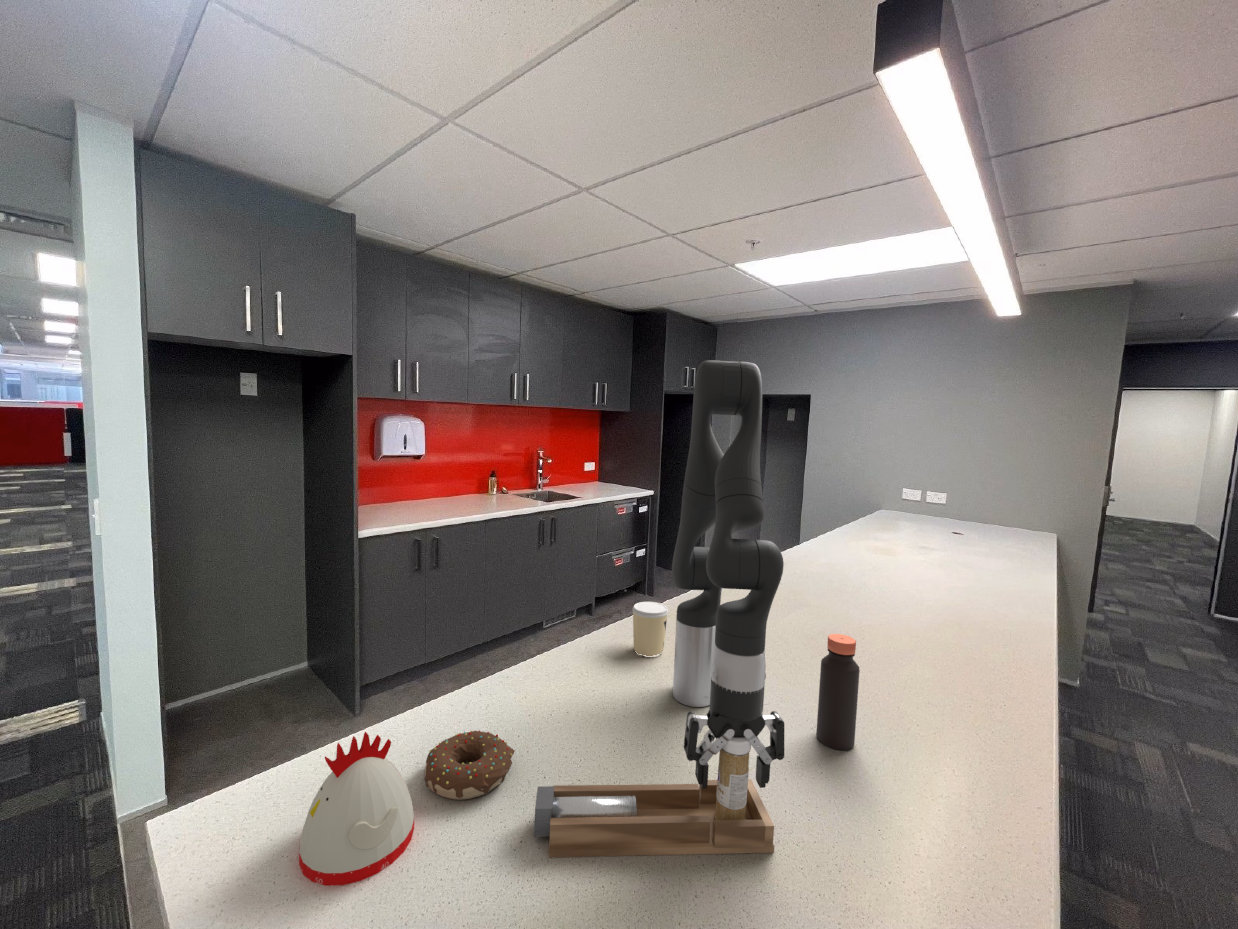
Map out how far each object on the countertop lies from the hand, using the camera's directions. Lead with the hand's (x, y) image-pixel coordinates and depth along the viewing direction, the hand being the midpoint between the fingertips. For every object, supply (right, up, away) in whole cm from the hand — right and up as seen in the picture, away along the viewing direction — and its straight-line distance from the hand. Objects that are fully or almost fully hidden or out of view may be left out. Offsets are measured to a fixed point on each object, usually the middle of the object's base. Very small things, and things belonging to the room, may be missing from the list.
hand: (731, 784), depth 74 cm
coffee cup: (-9, -3, +60) cm, 61 cm away
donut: (-41, -5, +9) cm, 42 cm away
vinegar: (+25, -7, +23) cm, 35 cm away
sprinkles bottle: (0, -6, 0) cm, 6 cm away
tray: (-11, -6, 0) cm, 13 cm away
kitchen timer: (-52, -5, -5) cm, 52 cm away
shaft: (-21, -5, -1) cm, 22 cm away
